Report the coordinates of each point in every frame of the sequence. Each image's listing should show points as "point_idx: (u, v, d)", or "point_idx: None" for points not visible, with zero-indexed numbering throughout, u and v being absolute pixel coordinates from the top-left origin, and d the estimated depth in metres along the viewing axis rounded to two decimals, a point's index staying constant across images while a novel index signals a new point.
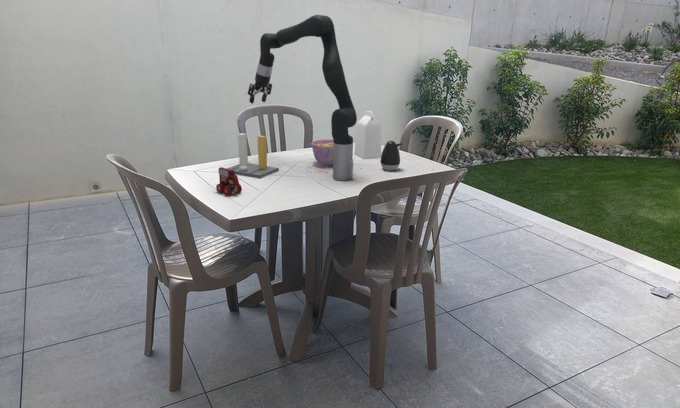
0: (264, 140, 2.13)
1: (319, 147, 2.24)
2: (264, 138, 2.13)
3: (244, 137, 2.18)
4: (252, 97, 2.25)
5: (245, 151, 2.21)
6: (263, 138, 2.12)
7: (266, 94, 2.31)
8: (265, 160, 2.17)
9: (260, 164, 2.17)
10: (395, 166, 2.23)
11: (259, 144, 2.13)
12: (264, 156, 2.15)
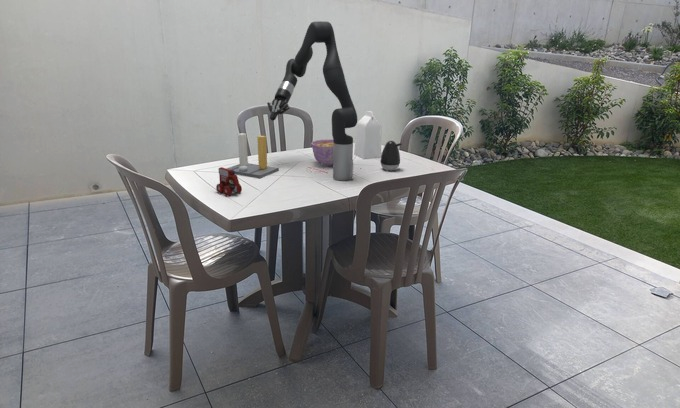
0: (264, 140, 2.13)
1: (319, 147, 2.24)
2: (264, 138, 2.13)
3: (244, 137, 2.18)
4: (272, 112, 2.19)
5: (245, 151, 2.21)
6: (263, 138, 2.12)
7: (275, 110, 2.18)
8: (265, 160, 2.17)
9: (260, 164, 2.17)
10: (395, 166, 2.23)
11: (259, 144, 2.13)
12: (264, 156, 2.15)
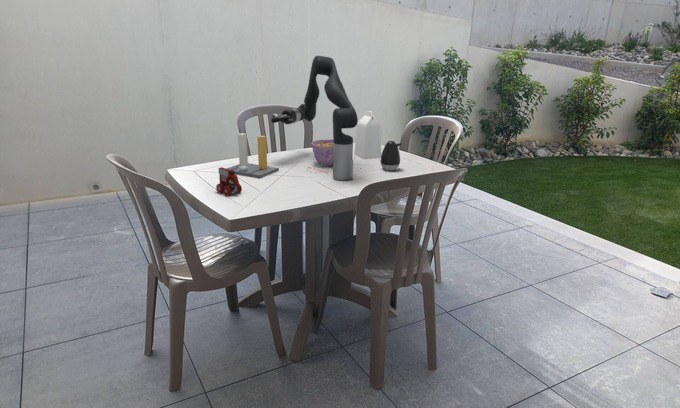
0: (264, 140, 2.13)
1: (319, 147, 2.24)
2: (264, 138, 2.13)
3: (244, 137, 2.18)
4: (274, 118, 2.23)
5: (245, 151, 2.21)
6: (263, 138, 2.12)
7: (279, 117, 2.23)
8: (265, 160, 2.17)
9: (260, 164, 2.17)
10: (395, 166, 2.23)
11: (259, 144, 2.13)
12: (264, 156, 2.15)
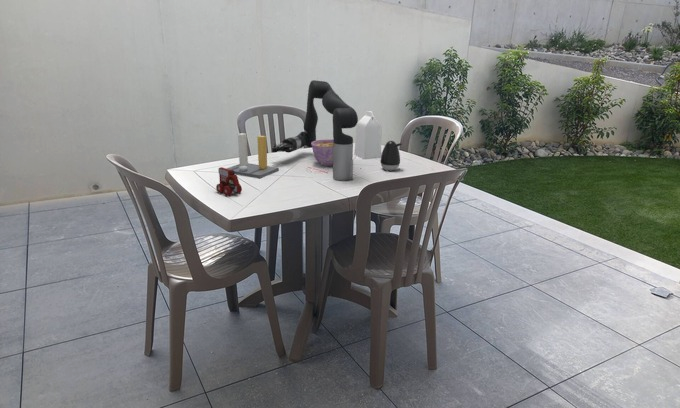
0: (264, 140, 2.13)
1: (319, 147, 2.24)
2: (264, 138, 2.13)
3: (244, 137, 2.18)
4: None
5: (245, 151, 2.21)
6: (263, 138, 2.12)
7: (279, 146, 2.28)
8: (265, 160, 2.17)
9: (260, 164, 2.17)
10: (395, 166, 2.23)
11: (259, 144, 2.13)
12: (264, 156, 2.15)
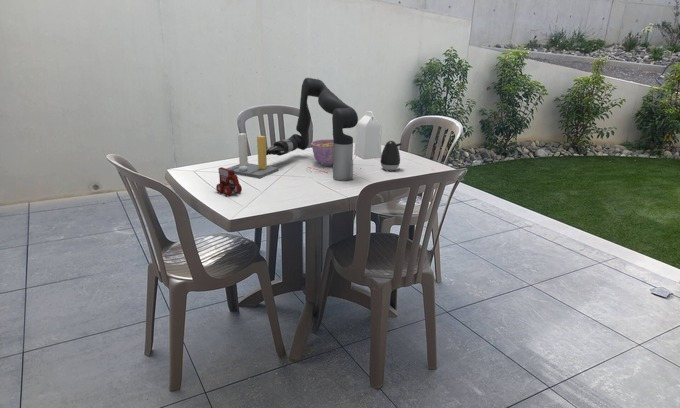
0: (264, 140, 2.13)
1: (319, 147, 2.24)
2: (264, 138, 2.13)
3: (244, 137, 2.18)
4: None
5: (245, 151, 2.21)
6: (263, 138, 2.12)
7: (270, 149, 2.21)
8: (265, 160, 2.17)
9: (260, 164, 2.16)
10: (395, 166, 2.23)
11: (259, 144, 2.13)
12: (264, 156, 2.15)
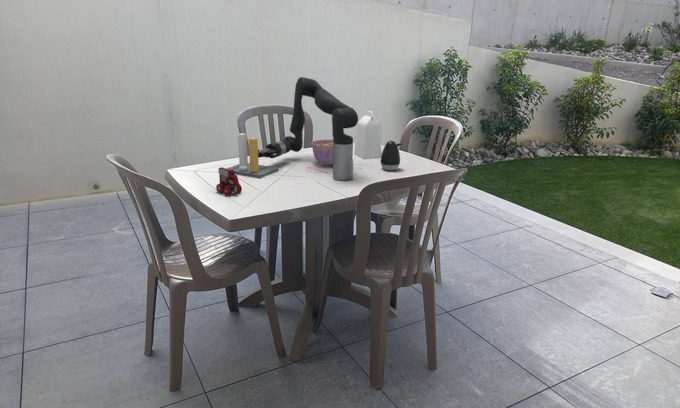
0: (255, 143, 2.07)
1: (319, 147, 2.24)
2: (255, 140, 2.07)
3: (244, 137, 2.18)
4: None
5: (245, 151, 2.21)
6: (254, 140, 2.06)
7: (262, 151, 2.15)
8: (256, 163, 2.11)
9: (251, 167, 2.11)
10: (395, 166, 2.23)
11: (250, 147, 2.07)
12: (255, 159, 2.10)
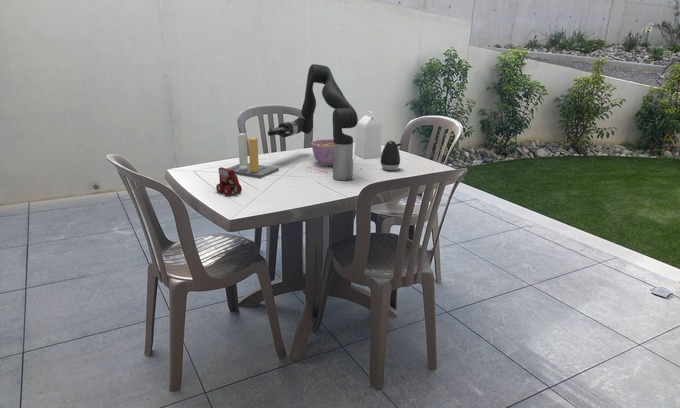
0: (255, 143, 2.07)
1: (319, 147, 2.24)
2: (255, 140, 2.07)
3: (244, 137, 2.18)
4: (271, 131, 2.21)
5: (245, 151, 2.21)
6: (254, 140, 2.06)
7: (275, 130, 2.22)
8: (256, 163, 2.11)
9: (251, 167, 2.11)
10: (395, 166, 2.23)
11: (250, 147, 2.07)
12: (255, 159, 2.09)
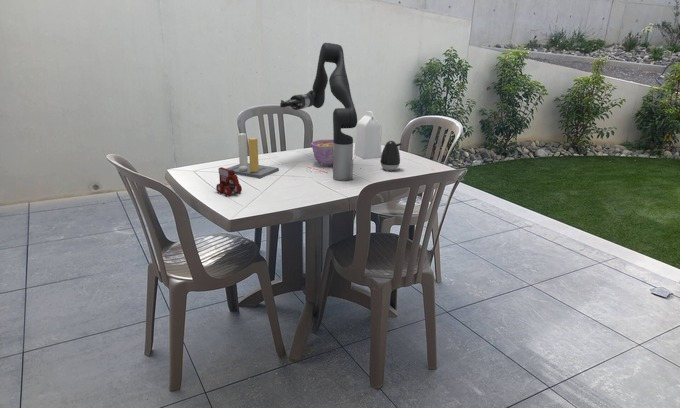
0: (255, 143, 2.07)
1: (319, 147, 2.24)
2: (255, 140, 2.07)
3: (244, 137, 2.18)
4: None
5: (245, 151, 2.21)
6: (254, 140, 2.06)
7: (288, 101, 2.19)
8: (256, 163, 2.11)
9: (251, 167, 2.11)
10: (395, 166, 2.23)
11: (250, 147, 2.07)
12: (255, 159, 2.09)
